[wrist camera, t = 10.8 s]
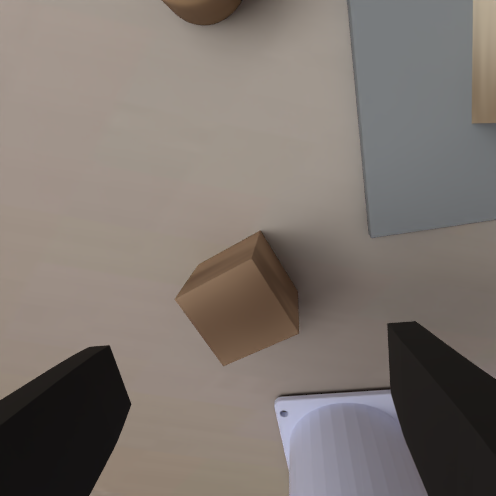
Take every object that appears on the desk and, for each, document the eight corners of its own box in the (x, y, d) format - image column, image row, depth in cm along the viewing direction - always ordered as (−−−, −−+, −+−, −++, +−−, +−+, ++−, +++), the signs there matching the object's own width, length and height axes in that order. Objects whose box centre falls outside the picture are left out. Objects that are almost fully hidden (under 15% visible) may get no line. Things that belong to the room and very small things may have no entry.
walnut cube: (298, 291, 18) (299, 333, 14) (236, 320, 19) (223, 366, 15) (260, 230, 17) (251, 258, 13) (198, 264, 18) (174, 299, 15)
